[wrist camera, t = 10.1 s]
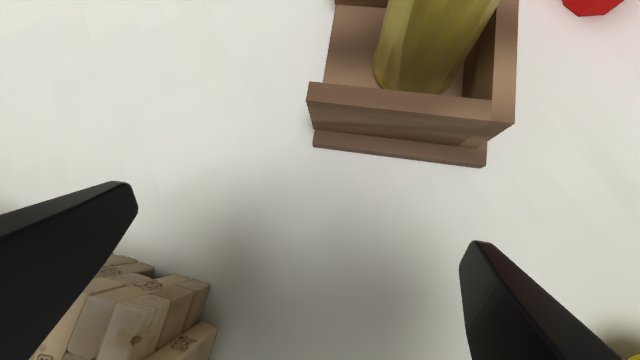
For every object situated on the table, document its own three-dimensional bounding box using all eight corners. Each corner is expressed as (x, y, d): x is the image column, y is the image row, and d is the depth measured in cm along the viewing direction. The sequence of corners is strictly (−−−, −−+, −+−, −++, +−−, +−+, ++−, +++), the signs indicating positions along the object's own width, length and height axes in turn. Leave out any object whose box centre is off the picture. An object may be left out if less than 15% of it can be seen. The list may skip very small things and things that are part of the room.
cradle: (480, 168, 20) (527, 144, 15) (312, 146, 22) (302, 117, 16) (489, -2, 23) (533, -72, 18) (339, -12, 24) (338, -80, 19)
